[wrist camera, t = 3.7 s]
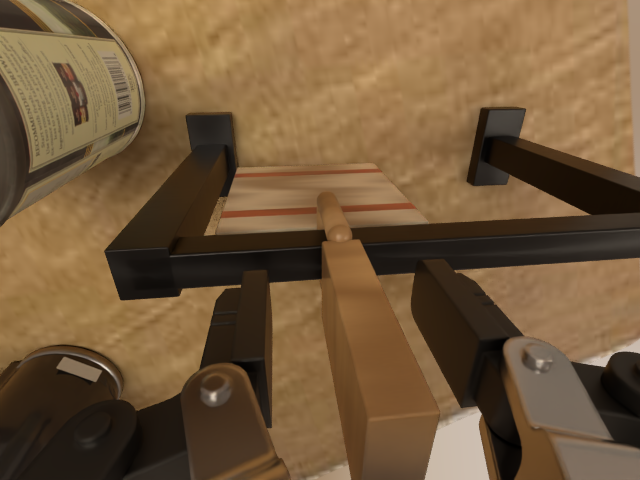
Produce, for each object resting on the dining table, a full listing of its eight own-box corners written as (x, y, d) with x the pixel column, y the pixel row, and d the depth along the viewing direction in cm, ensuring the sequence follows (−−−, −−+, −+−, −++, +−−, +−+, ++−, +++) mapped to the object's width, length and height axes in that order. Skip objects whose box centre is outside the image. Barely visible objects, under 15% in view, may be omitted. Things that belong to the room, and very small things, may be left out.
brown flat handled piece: (240, 198, 23) (153, 559, 7) (234, 140, 22) (91, 432, 5) (371, 192, 24) (591, 497, 7) (375, 136, 23) (675, 371, 6)
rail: (202, 192, 28) (120, 345, 13) (188, 112, 25) (65, 192, 10) (499, 180, 30) (712, 297, 15) (517, 106, 27) (798, 163, 13)
